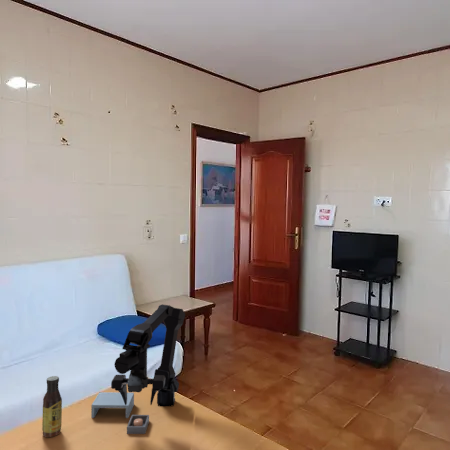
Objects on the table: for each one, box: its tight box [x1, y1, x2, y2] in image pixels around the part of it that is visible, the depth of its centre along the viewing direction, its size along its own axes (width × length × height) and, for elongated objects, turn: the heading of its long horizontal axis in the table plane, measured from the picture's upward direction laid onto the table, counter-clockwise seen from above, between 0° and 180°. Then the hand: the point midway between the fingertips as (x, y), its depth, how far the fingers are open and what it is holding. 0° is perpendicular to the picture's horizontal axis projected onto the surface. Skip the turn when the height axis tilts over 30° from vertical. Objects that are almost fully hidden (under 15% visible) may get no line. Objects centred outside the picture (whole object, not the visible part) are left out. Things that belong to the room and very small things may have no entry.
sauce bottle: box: [41, 375, 63, 438], centre depth 137 cm, size 7×6×20 cm
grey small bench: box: [90, 391, 135, 419], centre depth 152 cm, size 14×10×6 cm
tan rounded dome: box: [134, 418, 143, 426], centre depth 141 cm, size 3×3×2 cm
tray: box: [126, 414, 150, 435], centre depth 141 cm, size 6×8×3 cm
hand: (138, 404), depth 141 cm, fingers open, 9 cm apart
